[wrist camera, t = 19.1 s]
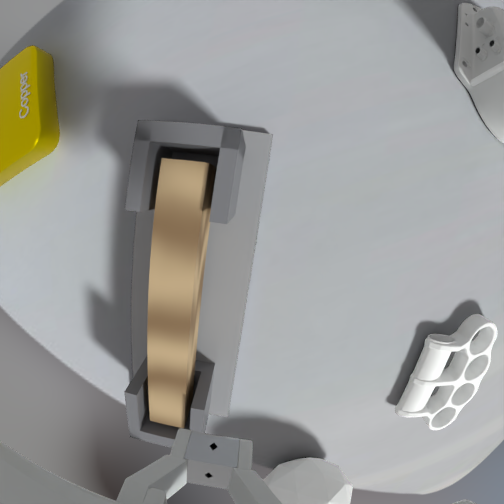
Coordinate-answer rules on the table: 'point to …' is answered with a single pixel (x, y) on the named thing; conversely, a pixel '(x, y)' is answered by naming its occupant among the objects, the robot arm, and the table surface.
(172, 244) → the oak slat
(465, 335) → the knuckle duster
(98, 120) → the table surface
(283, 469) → the geodesic sphere
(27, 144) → the element tile
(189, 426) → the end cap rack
